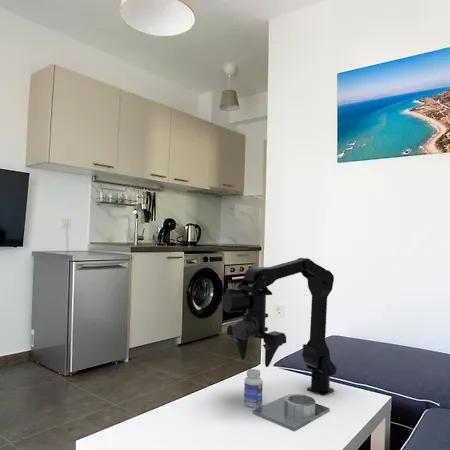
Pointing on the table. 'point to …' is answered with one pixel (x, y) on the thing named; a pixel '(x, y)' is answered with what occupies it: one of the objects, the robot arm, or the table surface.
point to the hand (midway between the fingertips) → (254, 363)
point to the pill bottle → (253, 388)
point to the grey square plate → (292, 411)
